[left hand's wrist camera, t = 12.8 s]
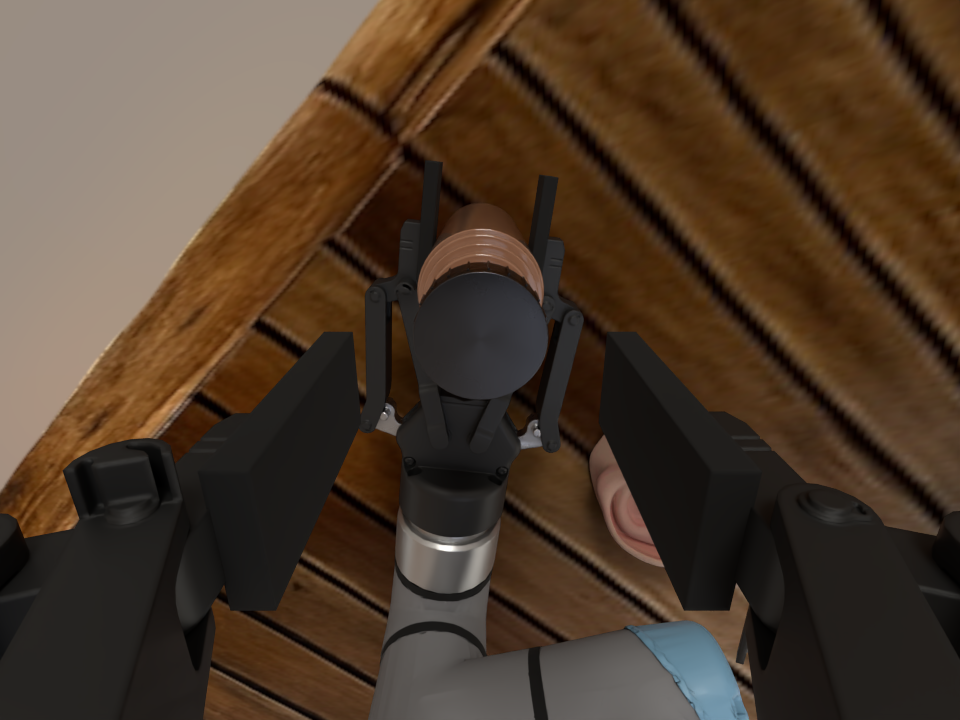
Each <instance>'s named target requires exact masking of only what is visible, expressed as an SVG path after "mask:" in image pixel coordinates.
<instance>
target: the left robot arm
mask: <svg viewBox="0 0 960 720" xmlns="http://www.w3.org/2000/svg"><path fill="white" fill-rule="evenodd" d="M360 424H361V414H360V404H359V394H358V383H357V373H356V362H355V352H354V341H353V332H324V333H323V334H322V335H321V336H320V337H319V338H318V339H317V340H316V342H315V343H314V344H313V345H312V346H311V347H310V348H309V349H308V350H307V351H306V353H305V354H304V355H303V356H302V357H301V358H300V359H299V360H298V361H297V362H296V364H295V365H294V366H293V367H292V368H291V369H290V370H289V371H288V372H287V373H286V375H285V376H284V377H283V378H282V379H281V380H280V381H279V382H278V383H277V384H276V386H275V387H274V388H273V389H272V390H271V391H270V392H269V393H268V394H267V395H266V397H265V398H264V399H263V400H262V401H261V402H260V403H259V404H258V405H257V406H256V408H255V409H254V410H253V411H252V412H251V413H235V414H234V415H232V416H230V417H228V418H226V419H224V420H223V421H221V422H219V423H217V424H215V425H214V426H213V427H212V428H211V429H210V430H209V431H208V432H207V433H206V434H205V435H204V436H203V437H202V438H201V441H198V442H197V443H196V444H195V445H194V446H193V447H192V448H191V449H190V450H189V453H186V454H185V455H184V456H183V457H182V458H181V459H180V460H179V461H178V462H177V463H176V464H175V462H174V458H173V454H172V450H171V446H170V445H169V444H167V443H166V442H164V441H163V440H158V439H151V438H143V439H130V440H126V441H121V442H117V443H112V444H109V445H106V446H103V447H100V448H98V449H95V450H92V451H90V452H88V453H86V454H84V455H83V456H81V457H79V458H77V459H75V460H73V461H72V462H71V463H70V464H69V465H68V466H67V467H66V468H65V469H64V470H63V473H64V476H65V479H66V482H67V485H68V487H69V490H70V493H71V496H72V499H73V502H74V505H75V507H76V510H77V513H78V516H79V519H80V520H79V522H78V523H77V525H76V527H75V529H70V530H65V531H60V532H55V533H50V534H44V535H39V536H34V537H29V538H24V537H23V534H22V532H21V529H20V527H19V524H18V522H17V519H15V518H14V517H12V516H10V515H9V514H0V720H203V714H204V706H205V699H206V692H207V685H208V678H209V671H210V664H211V657H212V650H213V643H214V636H215V629H216V628H215V621H214V616H213V612H212V608H211V605H212V604H213V602H214V600H215V599H216V597H217V595H218V594H219V592H220V590H221V589H222V587H223V585H225V589H226V594H227V598H228V602H229V606H230V611H276V609H277V607H278V605H279V603H280V600H281V598H282V596H283V594H284V592H285V589H286V587H287V585H288V583H289V581H290V578H291V576H292V574H293V572H294V570H295V567H296V565H297V563H298V561H299V558H300V556H301V554H302V552H303V550H304V547H305V545H306V543H307V541H308V539H309V536H310V534H311V532H312V530H313V528H314V525H315V523H316V521H317V519H318V517H319V514H320V512H321V510H322V508H323V506H324V503H325V501H326V499H327V497H328V495H329V492H330V490H331V488H332V486H333V484H334V481H335V479H336V477H337V475H338V473H339V470H340V468H341V466H342V464H343V462H344V459H345V457H346V455H347V453H348V451H349V448H350V446H351V444H352V442H353V439H354V437H355V435H356V433H357V431H358V428H359V426H360ZM599 424H600V426H601V428H602V431H603V433H604V435H605V437H606V439H607V442H608V444H609V446H610V448H611V451H612V453H613V455H614V457H615V459H616V462H617V464H618V466H619V468H620V470H621V473H622V475H623V477H624V479H625V481H626V484H627V486H628V488H629V490H630V492H631V495H632V497H633V499H634V501H635V503H636V506H637V508H638V510H639V512H640V514H641V517H642V519H643V521H644V523H645V525H646V528H647V530H648V532H649V534H650V536H651V539H652V541H653V543H654V545H655V547H656V550H657V552H658V554H659V556H660V558H661V561H662V563H663V565H664V567H665V570H666V572H667V574H668V576H669V578H670V581H671V583H672V585H673V587H674V589H675V592H676V594H677V596H678V598H679V600H680V603H681V605H682V607H683V609H684V611H730V606H731V602H732V598H733V594H734V589H735V585H736V583H737V584H738V586H739V588H740V589H741V591H742V593H743V594H744V596H745V598H746V599H747V601H748V602H749V608H748V612H747V616H746V620H745V623H744V627H743V631H742V635H741V639H740V643H739V647H738V651H737V658H736V663H740V664H744V660H745V656H746V653H747V652H748V655H749V663H750V670H751V677H752V684H753V691H754V698H755V705H756V712H757V719H758V720H960V511H953V512H952V513H950V514H948V515H947V516H945V517H944V519H943V522H942V524H941V527H940V529H939V532H938V534H937V536H934V535H929V534H923V533H918V532H913V531H908V530H902V529H897V528H892V527H887V526H884V524H883V522H882V521H881V519H880V518H879V516H878V515H877V514H876V513H875V512H874V511H873V510H872V509H871V507H869V506H867V505H866V504H864V503H863V502H861V501H860V500H858V499H857V498H855V497H853V496H851V495H849V494H846V493H844V492H842V491H839V490H837V489H834V488H830V487H826V486H822V485H819V484H810V483H806V482H805V481H804V480H803V479H802V478H801V477H800V476H799V475H798V474H797V473H796V472H795V471H794V470H793V469H792V468H791V467H790V466H789V465H788V464H787V463H786V462H785V461H784V460H783V459H782V458H781V457H780V456H779V455H778V454H777V453H776V452H775V451H771V447H770V446H769V445H768V444H767V443H766V442H765V441H764V440H763V439H760V436H759V435H758V434H757V433H755V432H754V431H753V430H752V429H751V428H750V427H749V426H748V425H747V424H746V423H745V422H743V421H741V420H739V419H737V418H736V417H734V416H732V415H730V414H728V413H726V412H708V411H707V410H706V409H705V408H704V406H703V405H702V404H701V403H700V402H699V401H698V400H697V399H696V398H695V397H694V395H693V394H692V393H691V392H690V391H689V390H688V389H687V388H686V387H685V386H684V384H683V383H682V382H681V381H680V380H679V379H678V378H677V377H676V376H675V375H674V373H673V372H672V371H671V370H670V369H669V368H668V367H667V366H666V365H665V364H664V362H663V361H662V360H661V359H660V358H659V357H658V356H657V355H656V354H655V353H654V351H653V350H652V349H651V348H650V347H649V346H648V345H647V344H646V343H645V342H644V340H643V339H642V338H641V337H640V336H639V335H638V334H637V333H636V332H607V341H606V352H605V362H604V373H603V383H602V394H601V404H600V414H599Z"/></svg>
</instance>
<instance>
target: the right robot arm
mask: <svg viewBox="0 0 960 720" xmlns="http://www.w3.org/2000/svg"><path fill="white" fill-rule="evenodd" d="M442 165H443V162H437V161H425V171H424V185H423V198H422V211H421V220H413V219H408V220H406V221H405V222H404V225H403V227H402V229H401V236H400V252H399V268H398V274H397V275H395V276H393V277H388V278H379V279H377V280H376V281H375V282H374V283H373V284H372V285H371V286H370V287H369V289H368V290H367V291H366V294H365V327H366V394H367V401H366V403H365V406H364V408H363V411H362V413H361V424H360V426H359V429H360V430H361V431H362V432H364V433H371V432H373V431H374V430H375V428H376V429H379V430H381V431H384V432H387V433H389V434H392V435H395V436H396V440H397V443H398V445H399V447H400V449H401V452H402V467H401V480H400V493H399V504H400V507H399V510H398V518H397V533H396V547H395V570H394V579H393V588H392V597H391V605H390V611H389V617H388V622H387V627H386V632H385V636H384V641H383V646H382V652H381V661H380V671H379V675H378V679H377V684H376V688H375V692H374V696H373V701H372V705H371V709H370V714H369V718H368V720H749V717H748V714H747V711H746V709H745V708H744V705H743V702H742V699H741V696H740V691H739V688H738V685H737V682H736V680H735V678H734V675H733V673H732V671H731V668H730V666H729V664H728V662H727V660H726V658H725V656H724V654H723V652H722V650H721V648H720V646H719V645H718V643H717V641H716V640H715V638H714V637H713V636H712V635H711V633H710V632H709V631H708V630H707V629H705V628H704V627H703V626H701V625H700V624H698V623H696V622H693V621H676V622H668V623H659V624H651V625H643V626H633V625H629V626H625V628H624V629H622V630H617V631H612V632H608V633H603V634H599V635H594V636H590V637H585V638H580V639H576V640H571V641H567V642H562V643H558V644H553V645H548V646H544V647H542V646H541V647H534V648H529V649H523V650H518V651H513V652H507V653H502V654H497V655H491V656H487V655H486V611H487V602H488V594H489V586H490V578H491V574H492V569H493V564H494V561H495V555H496V548H497V542H498V536H499V530H500V523H501V518H500V517H501V515H502V511H503V506H504V500H505V494H506V488H507V482H508V476H509V470H510V466H511V464H512V462H513V461H514V459H515V458H516V457H517V456H518V455H519V453H520V450H521V449H527V448H534V447H540V446H543V449H544V450H545V451H546V452H549V453H553V452H556V451H557V450H559V448H560V436H559V429H558V422H557V421H558V418H559V414H560V410H561V406H562V402H563V398H564V394H565V391H566V387H567V383H568V379H569V375H570V371H571V368H572V364H573V360H574V356H575V352H576V348H577V345H578V341H579V337H580V333H581V329H582V325H583V320H584V318H583V315H582V313H581V312H580V310H579V309H578V307H577V306H576V304H575V303H574V302H572V301H570V300H566V299H564V298H562V297H560V296H559V295H558V285H559V280H560V274H561V269H562V263H563V257H564V252H565V249H564V244H563V241H562V240H561V239H560V238H557V237H549V231H550V225H551V219H552V213H553V207H554V201H555V195H556V189H557V183H558V178H557V177H552V176H545V175H539V180H538V187H537V193H536V200H535V206H534V213H533V219H532V226H531V232H530V239H529V245H528V247H529V249H530V251H531V252H532V254H533V256H534V258H535V260H536V261H537V263H538V266H539V268H540V270H541V274H542V278H543V284H544V297H543V304H542V307H543V309H544V312H545V314H546V316H547V320H546V321H547V325H548V323H549V321H550V319H551V318H552V319H554V320H555V323H554V328H553V332H552V336H551V340H550V344H549V349H548V353H547V357H546V361H545V365H544V369H543V374H542V378H541V382H540V386H539V390H538V395H537V400H536V413H532V414H531V415H530V416H529V417H528V418H527V420H526V425H525V427H524V428H523V429H521V430H517V429H516V427H515V425H514V424H513V422H512V420H511V419H510V417H509V415H508V414H507V412H506V410H507V408H508V406H509V403H510V400H511V396H512V394H513V392H512V393H510V394H507V395H505V396H502V397H498V398H494V399H488V400H475V399H467V398H463V397H460V396H456V395H454V394H452V393H450V392H447V391H446V390H444V389H443V388H441V387H439V386H438V385H437V384H436V383H435V382H433V381H432V380H431V379H430V377H429V376H428V375H427V374H426V373H425V371H424V370H423V368H422V367H421V365H420V363H419V361H418V358H417V356H416V353H415V348H414V342H413V328H414V324H413V322H414V319H415V317H416V315H417V312H418V310H419V308H420V307H419V302H418V294H417V287H418V279H419V275H420V271H421V268H422V266H423V264H424V262H425V260H426V258H427V256H428V255H429V253H430V251H431V249H432V247H433V246H434V244H435V242H436V234H437V222H438V211H439V200H440V188H441V177H442ZM395 300H398V301H399V305H400V309H401V313H402V317H403V322H404V326H405V330H406V334H407V338H408V343H409V347H410V351H411V355H412V359H413V364H414V368H415V372H416V376H417V380H418V385H419V395H420V401H419V402H418V403H417V404H416V405H415V406H414V407H413V408H412V409H411V410H410V411H409V412H408V413H407V414H406V415H405V416H404V418H402V417H400V416H399V415H398V414H397V411H396V409H397V404H396V402H395V401H394V400H393V398H391V397H388V396H389V393H390V389H391V380H392V301H395Z"/></svg>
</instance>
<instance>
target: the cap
mask: <svg viewBox="0 0 960 720" xmlns="http://www.w3.org/2000/svg"><path fill="white" fill-rule="evenodd" d="M419 305H420V308H419V310H418V312H417V315H416V317H415V319H414V322H413V324H414V328H413V342H414V348H415V353H416V356H417V358H418V361H419V363H420V365H421V367H422V368H423V370H424V371H425V373H426V374H427V375H428V376H429V377H430V379H431V380H432V381H433V382H435V383H436V384H437V385H438V386H439V387H441V388H443V389H444V390H446V391H447V392H450V393H452V394H454V395H456V396H460V397H463V398H467V399H475V400H488V399H494V398H498V397H502V396H505V395H507V394H510V393H512V392H514V391H516V390H517V389H519V388H520V387H522V386H523V385H524V384H526V383H527V382H528V381H529V380H530V379H531V378H532V377H533V376H534V374H535V373H536V372H537V370H538V369H539V367H540V366H541V364H542V362H543V359H544V357H545V354H546V350H547V345H548V338H549V337H548V326H547V321H546V320H547V316H546V314H545V312H544V309H543V307H541V305H540V299H539V297H538V294H537V292H536V290H535V291H534V290H533V289H532V287H531V286H530V285H529V284H528V282H527V281H526V279H525V277H524V276H522V277H521V276H520V275H519V274H517V273H516V272H514V271H513V270H511V269H509V267H508V266H506V267H504V266H502V265H499V264H494V263H490V261H487V262H473V263H470V261H468V262H467V264H463V265H460V266H457V267H455V268H453V269H452V268H449V270H448V271H447V272H446V273H444V274H443V275H441V276H440V277H439V278H438V279H437V280H436V279H434V281H433V283H432V285H431V286H430V288H429V289H428V291H427V292H426V294H423V297H422V299H421V301H420V304H419Z"/></svg>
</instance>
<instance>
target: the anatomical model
mask: <svg viewBox="0 0 960 720" xmlns="http://www.w3.org/2000/svg"><path fill="white" fill-rule="evenodd" d="M589 464H590V473H591V478H592V483H593V487H594V490H595V494H596V497H597V500H598V502H599V505H600V507H601V509H602V513H603V516H604V520H605V523H606V526H607V528H608V530H609V532H610V534H611V536H612V537H613V539H614V540H615V541H616V542H617V543H618V545H619V546H620V547H622V548H623V549H624V550H625V551H627V552H628V553H629V554H631V555H633V556H634V557H636V558H638V559H640V560H642V561H644V562H646V563H649V564H652V565H656V566H660V567H664V565H663V563H662V561H661V558H660V556H659V554H658V552H657V550H656V547H655V545H654V543H653V541H652V539H651V536H650V534H649V532H648V530H647V528H646V525H645V523H644V521H643V519H642V517H641V514H640V512H639V510H638V508H637V506H636V503H635V501H634V499H633V497H632V495H631V492H630V490H629V488H628V486H627V484H626V481H625V479H624V477H623V475H622V473H621V470H620V468H619V466H618V464H617V462H616V459H615V457H614V455H613V453H612V451H611V448H610V446H609V444H608V442H607V439H606V437H605V435H603V437H602V438H601V439H600V440H599V442H598V443H597V444H596V446H595V447H594V449H593V451H592V453H591V456H590V461H589Z"/></svg>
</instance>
